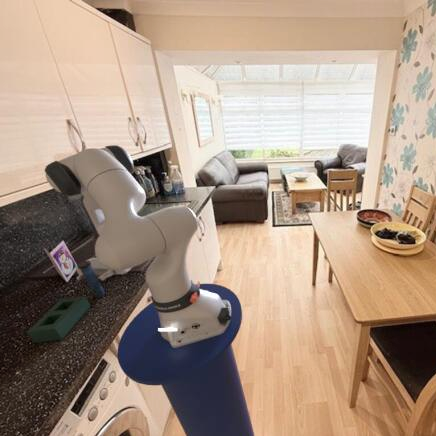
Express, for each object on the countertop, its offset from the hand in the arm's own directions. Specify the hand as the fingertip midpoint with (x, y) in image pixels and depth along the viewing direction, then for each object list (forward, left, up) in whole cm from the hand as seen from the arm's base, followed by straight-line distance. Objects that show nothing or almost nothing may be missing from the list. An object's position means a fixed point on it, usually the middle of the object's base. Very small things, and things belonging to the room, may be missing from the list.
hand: (89, 279), depth 90 cm
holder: (+4, +12, -9) cm, 15 cm away
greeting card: (+24, -17, -9) cm, 31 cm away
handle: (0, -1, -9) cm, 9 cm away
